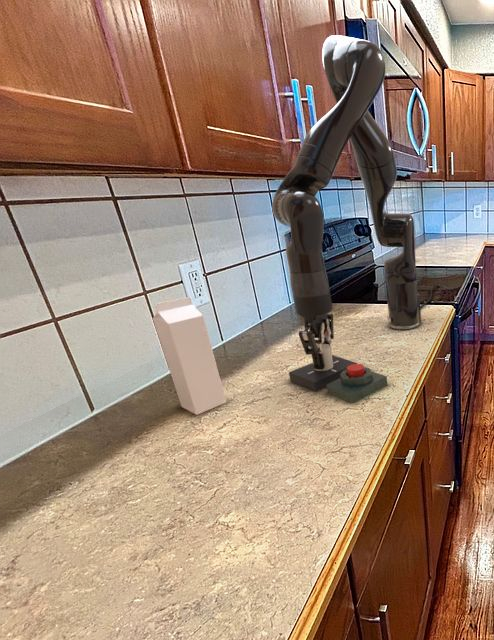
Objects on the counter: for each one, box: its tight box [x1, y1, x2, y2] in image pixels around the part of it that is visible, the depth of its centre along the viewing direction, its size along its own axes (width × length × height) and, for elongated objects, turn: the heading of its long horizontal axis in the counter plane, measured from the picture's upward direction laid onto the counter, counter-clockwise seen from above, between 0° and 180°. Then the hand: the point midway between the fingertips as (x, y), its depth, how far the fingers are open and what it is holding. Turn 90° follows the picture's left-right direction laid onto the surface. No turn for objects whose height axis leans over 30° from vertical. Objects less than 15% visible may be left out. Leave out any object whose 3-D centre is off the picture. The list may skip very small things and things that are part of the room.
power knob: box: [314, 344, 333, 371], centre depth 96 cm, size 4×4×5 cm
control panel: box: [288, 354, 358, 393], centre depth 97 cm, size 12×9×3 cm
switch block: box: [326, 366, 389, 404], centre depth 91 cm, size 10×8×4 cm
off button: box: [347, 363, 365, 377], centre depth 90 cm, size 4×4×2 cm
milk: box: [152, 296, 227, 416], centre depth 81 cm, size 6×6×22 cm
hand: (323, 363), depth 96 cm, fingers closed on power knob, 4 cm apart
